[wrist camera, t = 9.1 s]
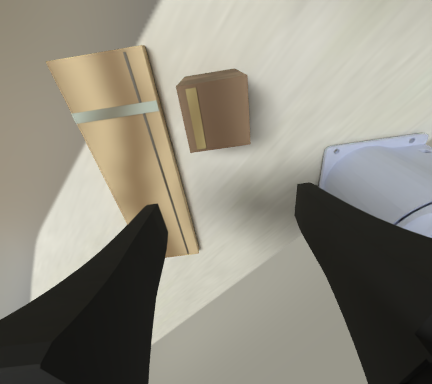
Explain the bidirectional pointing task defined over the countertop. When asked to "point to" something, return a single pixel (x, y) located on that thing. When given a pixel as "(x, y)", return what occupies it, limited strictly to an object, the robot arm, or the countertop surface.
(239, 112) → the block
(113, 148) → the oak board
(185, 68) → the countertop surface
